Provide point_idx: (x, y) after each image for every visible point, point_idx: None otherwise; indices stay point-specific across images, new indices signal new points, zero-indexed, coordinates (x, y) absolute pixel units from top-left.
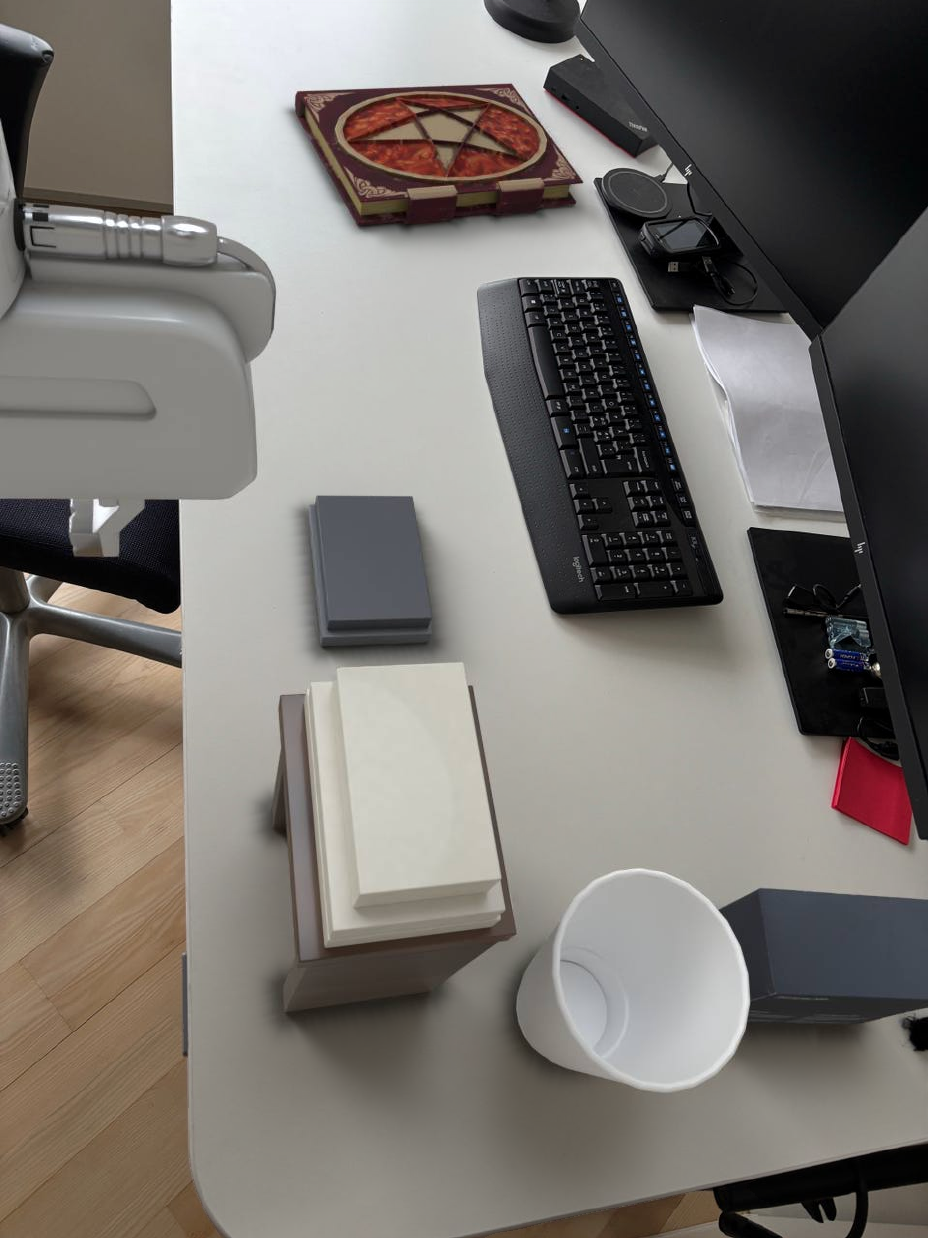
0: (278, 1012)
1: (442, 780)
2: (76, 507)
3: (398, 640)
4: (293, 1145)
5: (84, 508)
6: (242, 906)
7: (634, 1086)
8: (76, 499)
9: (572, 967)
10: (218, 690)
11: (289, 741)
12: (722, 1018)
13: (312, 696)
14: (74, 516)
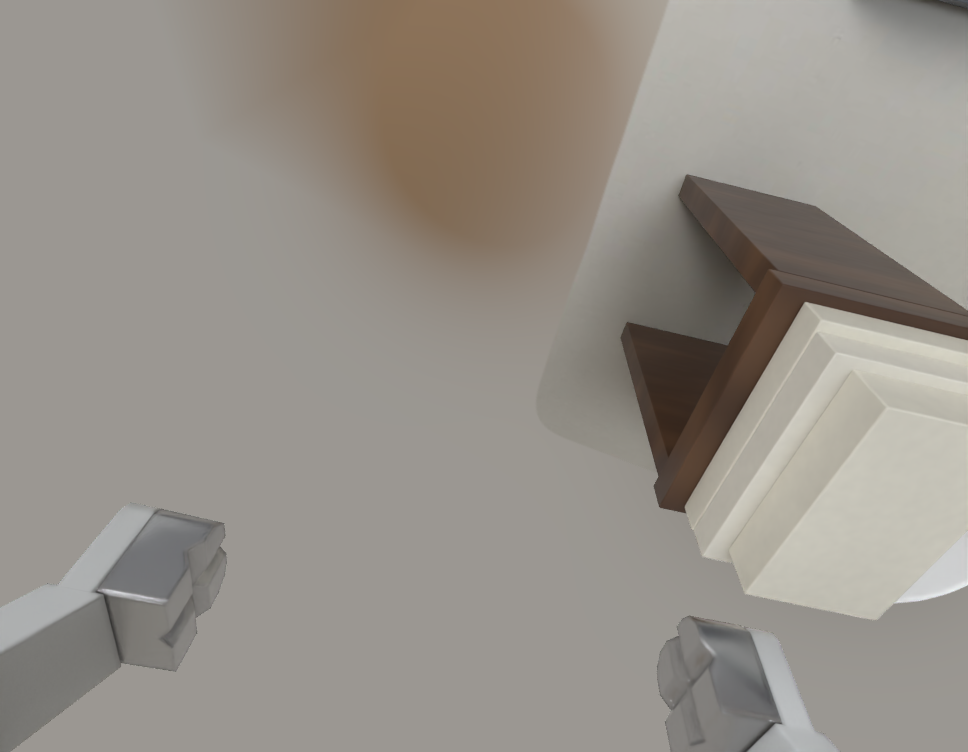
0: (616, 336)
1: (898, 545)
2: (714, 738)
3: (951, 2)
4: (592, 408)
5: (728, 738)
6: (622, 254)
7: None
8: (722, 723)
9: None
10: (696, 7)
11: (759, 340)
12: (936, 564)
13: (825, 369)
14: (700, 749)
